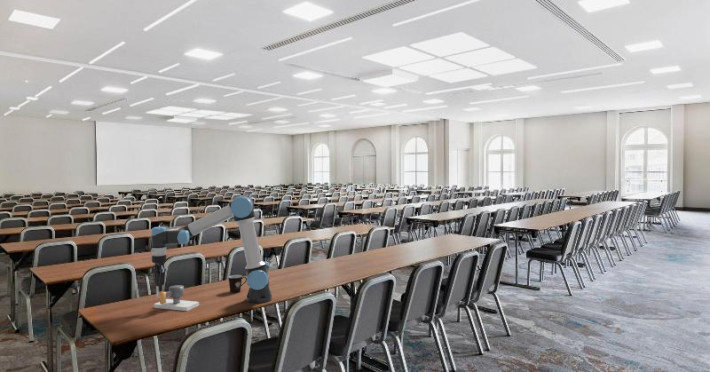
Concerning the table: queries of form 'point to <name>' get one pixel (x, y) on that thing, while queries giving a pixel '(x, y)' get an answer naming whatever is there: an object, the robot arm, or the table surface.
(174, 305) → the post base
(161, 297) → the orange knob joystick
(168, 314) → the table surface
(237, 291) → the coffee mug
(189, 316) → the table surface
